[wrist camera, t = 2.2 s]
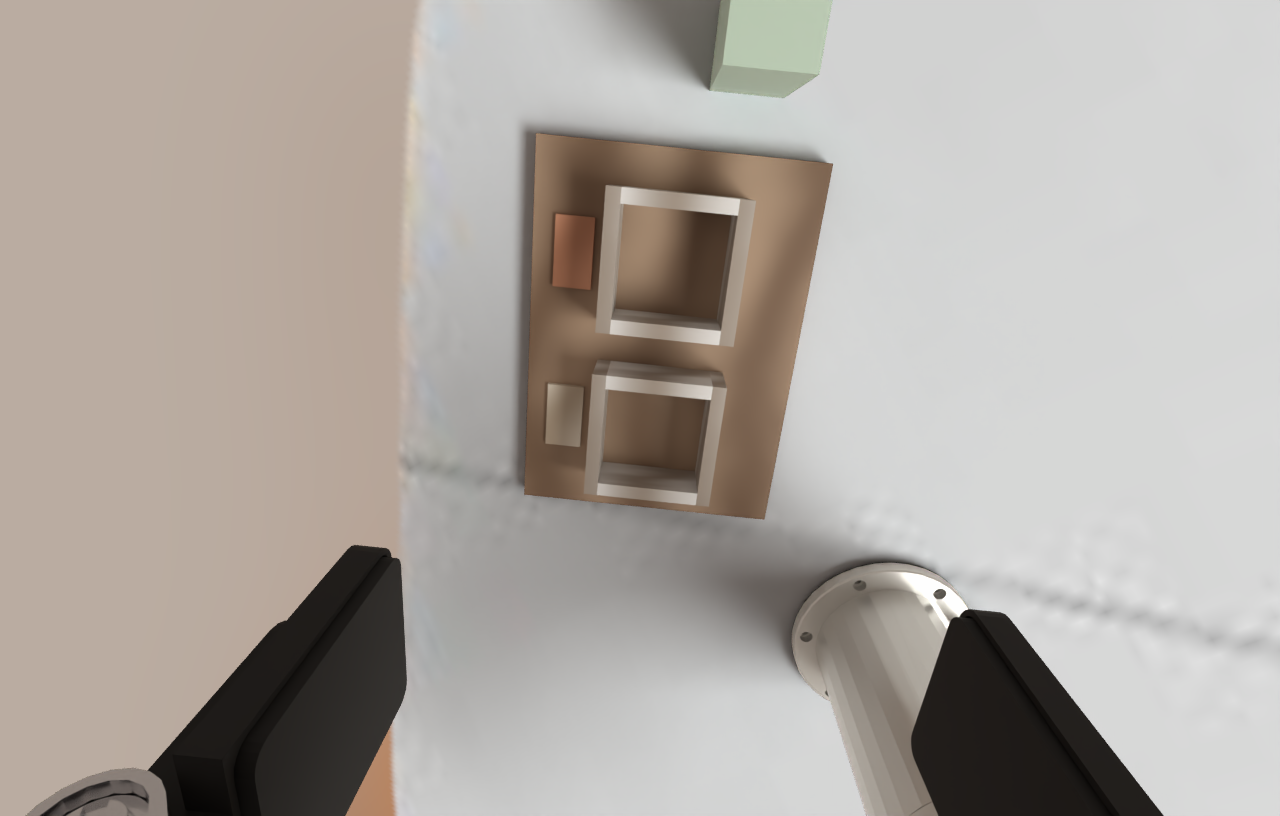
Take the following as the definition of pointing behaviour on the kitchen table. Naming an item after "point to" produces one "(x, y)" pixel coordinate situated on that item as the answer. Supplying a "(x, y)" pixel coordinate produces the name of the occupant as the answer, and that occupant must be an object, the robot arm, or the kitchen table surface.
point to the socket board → (665, 321)
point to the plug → (768, 45)
